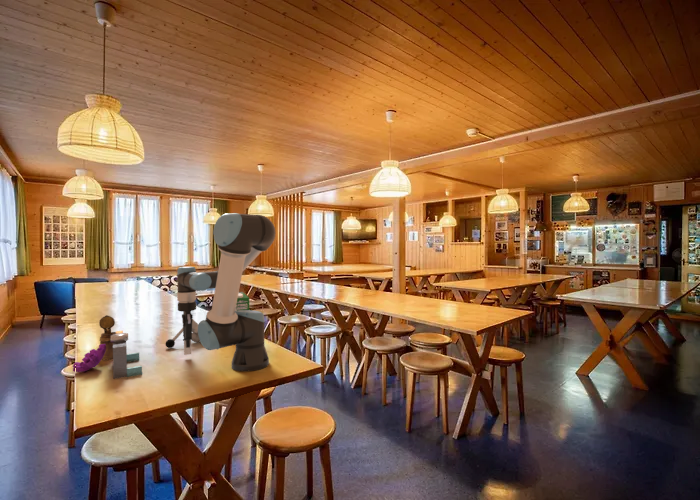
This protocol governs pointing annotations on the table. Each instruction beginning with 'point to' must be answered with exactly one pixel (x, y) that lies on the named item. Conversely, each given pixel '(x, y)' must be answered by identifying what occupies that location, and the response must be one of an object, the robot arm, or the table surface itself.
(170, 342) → the valve
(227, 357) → the table surface
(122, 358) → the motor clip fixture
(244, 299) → the milk carton
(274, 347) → the table surface
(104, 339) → the brown disc topped figure
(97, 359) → the purple toothed curved piece
